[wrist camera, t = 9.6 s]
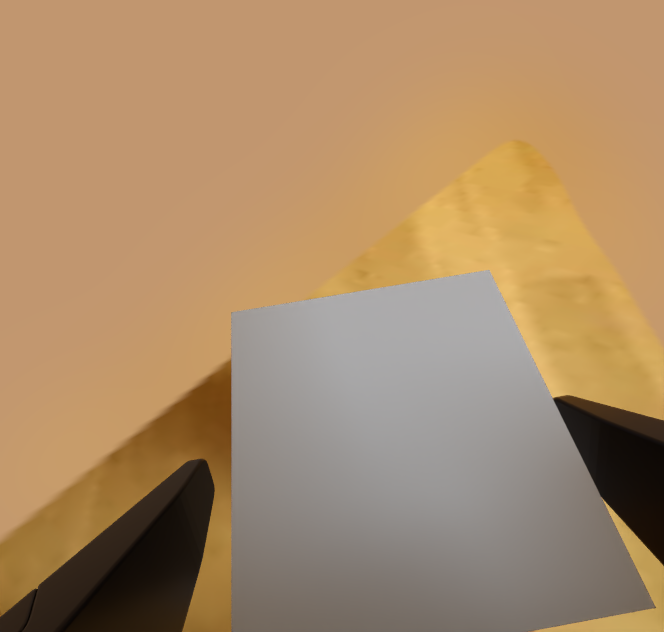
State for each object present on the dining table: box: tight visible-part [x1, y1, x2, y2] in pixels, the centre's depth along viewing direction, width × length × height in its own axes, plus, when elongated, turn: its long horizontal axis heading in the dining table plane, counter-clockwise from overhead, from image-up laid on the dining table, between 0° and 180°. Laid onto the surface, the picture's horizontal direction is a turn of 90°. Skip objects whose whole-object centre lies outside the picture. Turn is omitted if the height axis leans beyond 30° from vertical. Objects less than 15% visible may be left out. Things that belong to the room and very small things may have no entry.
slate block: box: [231, 270, 656, 632], centre depth 11 cm, size 5×5×13 cm
